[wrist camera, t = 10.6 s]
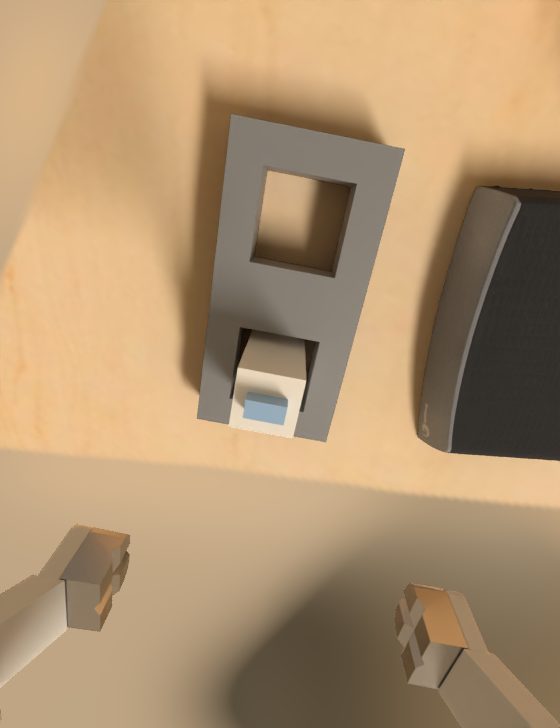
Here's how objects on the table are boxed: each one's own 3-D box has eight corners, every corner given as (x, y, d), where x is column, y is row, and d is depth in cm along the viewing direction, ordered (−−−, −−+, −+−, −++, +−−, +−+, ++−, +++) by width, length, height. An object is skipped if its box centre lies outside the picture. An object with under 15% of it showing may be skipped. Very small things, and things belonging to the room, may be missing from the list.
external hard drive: (406, 433, 32) (420, 463, 29) (462, 184, 25) (491, 179, 21) (560, 446, 32) (595, 477, 28) (662, 198, 25) (727, 196, 21)
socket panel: (239, 125, 24) (231, 113, 21) (393, 156, 24) (405, 149, 21) (205, 400, 32) (196, 418, 29) (323, 421, 32) (325, 442, 29)
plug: (253, 327, 29) (234, 374, 21) (304, 337, 29) (306, 388, 21) (245, 374, 31) (225, 435, 22) (294, 383, 31) (292, 448, 22)
